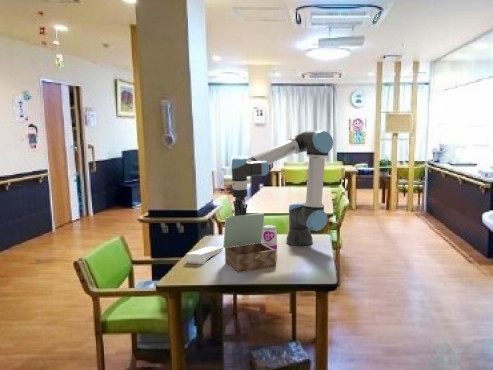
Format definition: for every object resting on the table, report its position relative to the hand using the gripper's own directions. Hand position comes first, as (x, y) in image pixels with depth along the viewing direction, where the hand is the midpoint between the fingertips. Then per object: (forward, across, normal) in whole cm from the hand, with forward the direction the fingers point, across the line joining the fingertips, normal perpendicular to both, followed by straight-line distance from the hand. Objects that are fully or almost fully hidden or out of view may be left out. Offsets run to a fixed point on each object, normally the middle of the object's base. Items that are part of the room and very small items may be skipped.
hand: (240, 234), depth 222 cm
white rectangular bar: (+14, -14, -15) cm, 24 cm away
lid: (-3, +4, 0) cm, 5 cm away
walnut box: (+13, +10, 0) cm, 17 cm away
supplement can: (+13, -2, +17) cm, 22 cm away
